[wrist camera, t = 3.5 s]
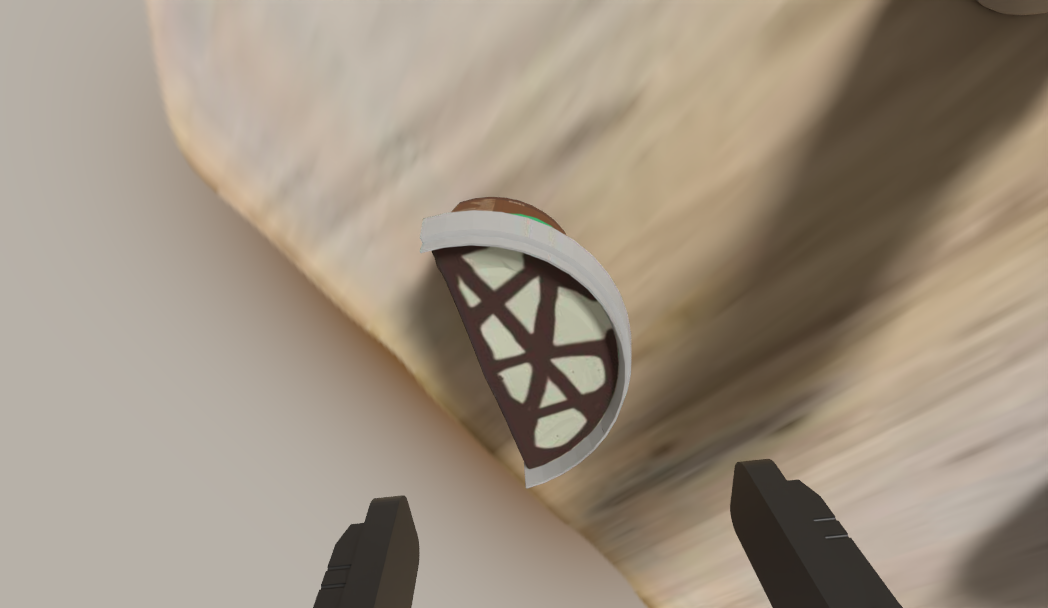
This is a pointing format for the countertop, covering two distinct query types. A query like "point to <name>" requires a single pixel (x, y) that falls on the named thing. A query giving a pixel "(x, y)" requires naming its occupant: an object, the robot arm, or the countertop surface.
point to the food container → (536, 326)
